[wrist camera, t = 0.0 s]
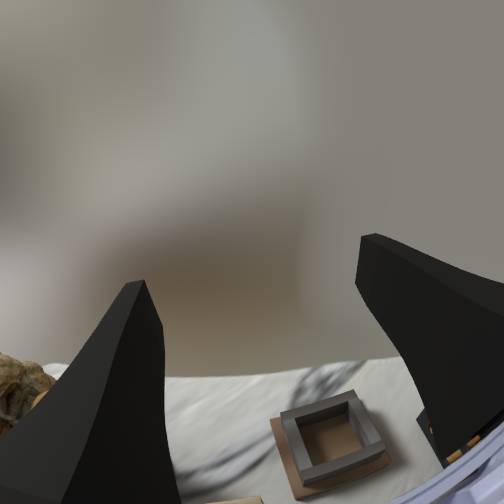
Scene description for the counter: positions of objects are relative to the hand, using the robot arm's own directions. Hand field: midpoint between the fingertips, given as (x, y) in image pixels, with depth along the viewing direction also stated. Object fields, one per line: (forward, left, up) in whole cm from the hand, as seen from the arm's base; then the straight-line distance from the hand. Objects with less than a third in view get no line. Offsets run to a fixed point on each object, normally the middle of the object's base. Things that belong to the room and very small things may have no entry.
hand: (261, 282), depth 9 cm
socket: (+2, -5, -22) cm, 22 cm away
